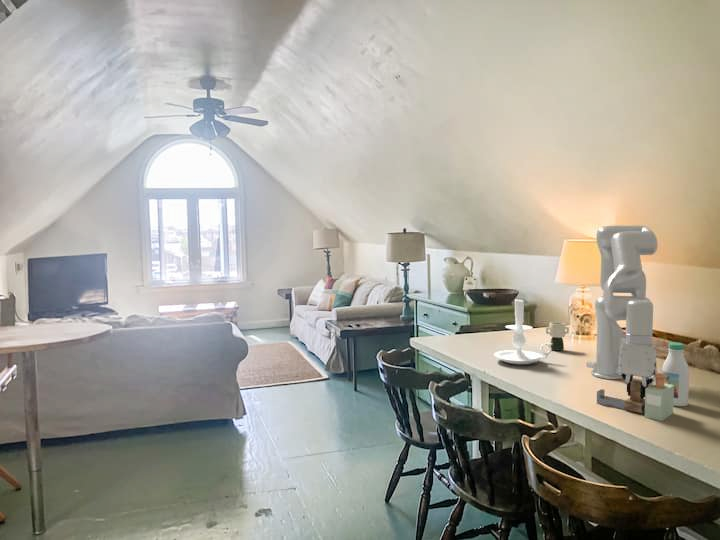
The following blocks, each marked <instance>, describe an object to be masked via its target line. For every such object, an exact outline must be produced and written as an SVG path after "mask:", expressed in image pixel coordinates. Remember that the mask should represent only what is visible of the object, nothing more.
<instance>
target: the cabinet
mask: <svg viewBox="0 0 720 540" xmlns="http://www.w3.org/2000/svg"><path fill="white" fill-rule="evenodd" d="M644 399H645V414H644V418H647V419H650V420H655V421H660V422H663V421H664V420H666V419H668V418H669V417H671V416H672V415H673V414H674V406H673V403H674V385H671V384H666V383H664V389H662V388H656V382H653V383H652V384H651V385H648V387H647V388H645V398H644Z"/></svg>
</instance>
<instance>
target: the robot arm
mask: <svg viewBox="0 0 720 540" xmlns="http://www.w3.org/2000/svg"><path fill="white" fill-rule="evenodd" d="M596 244H597V246H598V250H599V252H600V257H601V258H600V259H601V260H600V262H601V263H600V277H599V278H600V281H599V282H600V283H599V284H600V288H601V290H602V292H603V293H602V294H603V296H599V297H598V298H597V299H596V300H595V302H594V308H595V309H594V310H595V317H596V359H595V360H596V361H595V362H592V361H587V362H586V365H585V366H586V367H587V368H590V369H591V368H592V370H591V375H592V376H595V377H597V378H600V379H604V380H605V379H606V380H624V382H625V383H626V393H627V396H629V397H630V385H631V381H633V380H634V377H640V378H641V381H642V386H641V388H640V398H642V399H643V398H644V399H645V388H647V387H649V386H650V384H651V383H652V384H653V383H655V382H656V377H655V374H657V375H658V374H659V372H658V370H657V367H658V366H657V352H656V347H655V344H653V330H654V329H653V328H654V325H653V323H654V304H653V302H652V301H651V299H650V298H649V297H647V296H646V295H647V294H646V293H647V276H646V273H645V271H644V270H643V266H642V259H641V256H652V255H655V254H656V252H657V250H658V246H659V245H658V244H659V243H658V238H657V236H656V233H655V232H654V231H653V230H652V229H650V228H649V227H648V226H645V225H605V226H602V227H599V228H598V229H597V232H596ZM614 293H615V294H616V293H617V294H631V295H614ZM619 321H625V332H624V330H623V328H622V327H621V326H620V325H619V323H618V322H619ZM623 339H625V342H623Z"/></svg>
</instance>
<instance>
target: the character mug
mask: <svg viewBox="0 0 720 540" xmlns="http://www.w3.org/2000/svg"><path fill="white" fill-rule="evenodd" d="M569 329H570V328H569V326H566V323H565V322H558V321H551V322H549V326H547V327H545V334H547V335H550V337H551V339H550V343H553V344H552V345H551V348H552V350H553V351H563V350H565V346H564V340H563V338H564V337H565V336H566V335H567V334H569V333H570V331H569Z"/></svg>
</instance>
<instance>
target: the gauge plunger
mask: <svg viewBox="0 0 720 540" xmlns="http://www.w3.org/2000/svg"><path fill="white" fill-rule="evenodd" d="M658 373H659V372H658ZM655 377H656V381H655V383H656V388H662V389H664V383H665V378H666V375H665V374H662V373H661V372H660V373H659V374H658V375H657V374H655Z"/></svg>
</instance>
